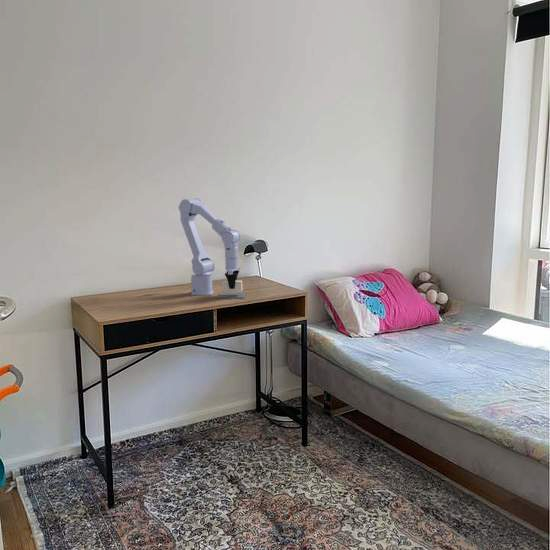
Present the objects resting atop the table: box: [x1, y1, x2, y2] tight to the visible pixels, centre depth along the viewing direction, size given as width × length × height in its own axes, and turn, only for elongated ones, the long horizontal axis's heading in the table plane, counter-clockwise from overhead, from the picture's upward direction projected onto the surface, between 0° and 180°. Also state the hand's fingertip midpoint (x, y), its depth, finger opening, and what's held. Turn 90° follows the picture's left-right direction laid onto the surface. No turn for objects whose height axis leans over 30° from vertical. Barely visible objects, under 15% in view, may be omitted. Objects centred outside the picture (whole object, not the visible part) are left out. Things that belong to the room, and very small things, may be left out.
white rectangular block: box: [221, 279, 243, 293], centre depth 245 cm, size 4×8×4 cm, turn 88°
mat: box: [216, 292, 247, 299], centre depth 246 cm, size 12×9×1 cm
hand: (232, 287), depth 245 cm, fingers closed on white rectangular block, 4 cm apart
